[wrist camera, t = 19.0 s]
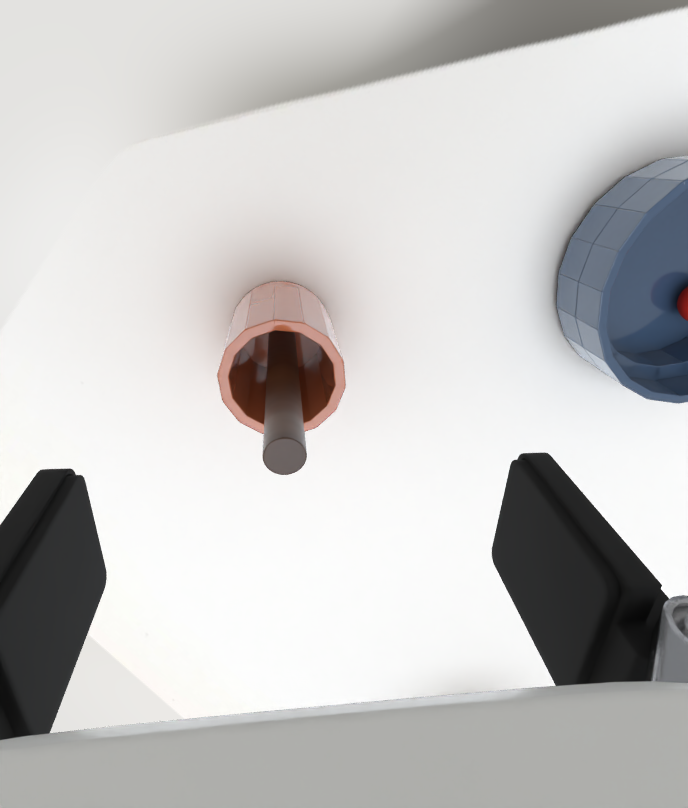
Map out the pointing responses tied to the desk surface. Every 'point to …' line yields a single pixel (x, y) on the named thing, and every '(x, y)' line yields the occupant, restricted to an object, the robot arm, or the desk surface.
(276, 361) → the stick
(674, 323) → the bowl
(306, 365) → the crock
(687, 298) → the ball
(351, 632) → the desk surface
